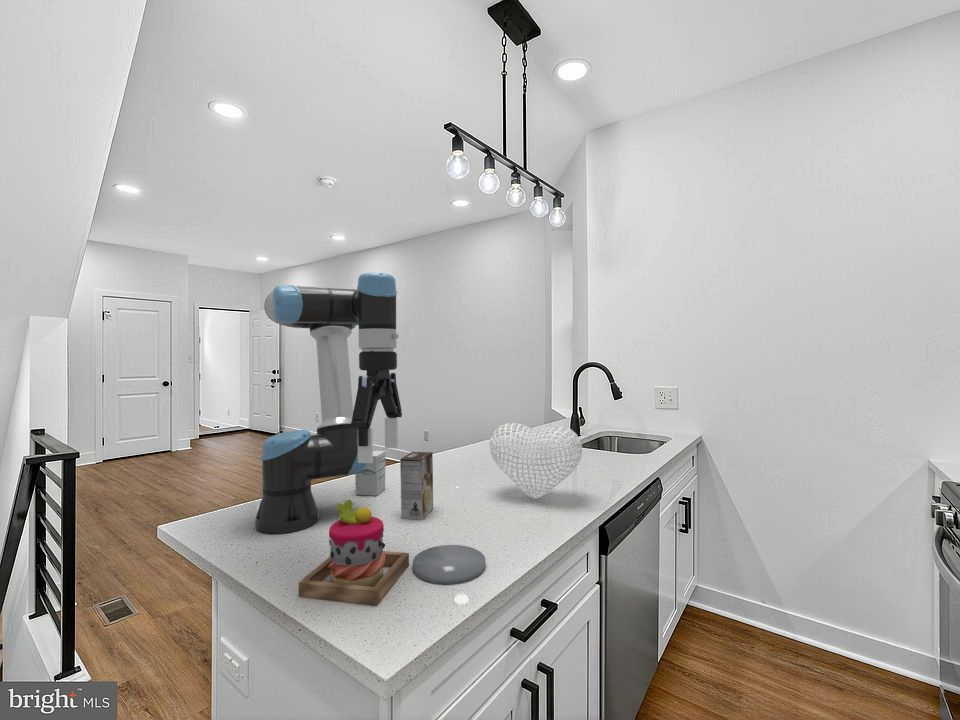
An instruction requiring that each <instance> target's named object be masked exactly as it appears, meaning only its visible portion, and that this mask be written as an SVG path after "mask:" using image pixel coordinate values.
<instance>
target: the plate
mask: <svg viewBox="0 0 960 720" xmlns="http://www.w3.org/2000/svg"><path fill="white" fill-rule="evenodd" d="M485 569H486V557H485V555H484V554H483V552H481V550H478V549H477V548H474V547H471V546H468V545H467V546H466V545H462V544H461V545H460V544H445V545H443V544H441V545H436V546H432V547H429V548H426V549H423V550H422V551H420V552H418V553H417V554H415V556H414V557H413V559H412V572H413V574H414V575H415V577H417V578H418V579H420V580H422V581H424V582H427V583H431V584H435V585H436V584H437V585H456V584H462V583H465V582H469V581H472V580H474V579H476V578H478V577H480V574H481V573H482V572H483V573H484V571H485ZM483 573H482V574H483ZM482 574H481V575H482ZM477 576H478V577H477ZM471 579H472V580H471Z"/></svg>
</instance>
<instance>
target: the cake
mask: <svg viewBox="0 0 960 720" xmlns="http://www.w3.org/2000/svg"><path fill="white" fill-rule="evenodd" d="M353 505H354V504H353V502H352V500H351V499H350V498H348V499H346V500H345V501H344V504H343V503H341V502H338V503H336V504H335V509H336V511H337V513H338V514H339V516H338V518H339V520H336V521H335V522H333V523H332V524H331V525H330V527H329V530H328V537H329V538H328V539H329V542H328V543H329V546H330V554H329V557H331V560H332V562H331V563H330V564H329V566H328V567H329V568H330V569H331V574H330V583H340V584H349V585H358V586H367V587H374V586H375V585H376V584H377V583H378V582H379V581H380V579H381V578H382V577H383V576H384V563H385V554H384V552H383V551H384V548H385V547H386V544H385V543H384V541H383V540H384V539H383V538H384V532H385V530H384V526H385V525H384V522H383V521H382V519H380V518H379V517H376V516H373V515H372V510H371V509H370V508H369V507H367V506H363V507H360V508H356V509H355V510H354V509H353Z"/></svg>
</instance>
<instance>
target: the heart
mask: <svg viewBox="0 0 960 720" xmlns="http://www.w3.org/2000/svg"><path fill="white" fill-rule="evenodd" d="M546 433H547V434H546ZM512 434H513V435H512ZM564 438H566V439H564ZM531 439H532V440H531ZM560 439H561V441H560ZM580 439H581V438H580V437H579V436H578V434H577V433H576V432H575V431H574V430H572V429H571V428H570V427H567V426H563V425H551V426H547V427H542V428H537V429H536V428H532V427H530V426H527V425H525V424H523V423H517V422H508V423H504V424H502V425H500V426H498V427H497V428H495V430H494V431H493V433H492V435H491V436H490V439H489V440H490V441H489V451H490V452H489V453H490V454H491V457H492V459H493V461H494V462H495V464H496V466H498V468H499V469H500V470H501V471H502V472H503V473H504V474H505V475H506V476H507V477H508V478H509V479H510V480H511V481H512V482H513V483H514V484H515V485H516V486H517V487H518V488H519V489H520V490H521V491H522V492H523V493H524V494H525V495H526V496H527V497H530V498H531V499H540V498H542V497H544V496H545V495H547V494H549V493H550V492H551V491H553V489H554V488H555V487H557V486H558V485H559V484H560V483H562V482H563V481H564V480H566V479H567V478H568V477H569V476H570V475H571V474H572V473H573V472H574V471H575V469H577V468H578V465H579V463H580V461H581V459H582V456H583V445H582V442H581V440H580ZM547 441H548V443H547ZM539 442H540V443H539ZM542 442H544V443H542ZM569 443H570V444H569ZM557 444H558V445H557ZM565 444H566V446H565ZM547 447H548V448H547ZM552 447H553V448H552ZM526 449H527V450H526ZM530 449H531V451H530ZM557 449H558V450H557ZM506 450H507V451H506ZM534 450H535V452H534ZM538 450H539V451H538ZM511 452H512V453H511ZM558 452H559V453H558ZM520 453H521V454H520ZM515 454H516V455H515ZM524 454H526V456H525V455H524ZM501 455H502V456H501ZM529 455H530V456H529ZM533 455H535V458H534V457H533ZM557 455H558V456H557ZM538 456H539V458H538ZM543 456H544V457H543ZM543 461H544V462H545V463H543ZM548 461H549V463H548ZM506 462H507V463H506ZM520 465H521V466H520ZM524 466H526V467H524ZM530 466H532V467H530ZM536 466H537V467H536ZM560 467H561V468H560ZM513 469H514V470H513ZM524 470H527V472H524ZM530 471H533V472H530ZM542 472H543V473H542ZM547 472H549V473H547ZM526 475H528V476H526ZM531 475H532V476H533V477H531ZM537 476H538V477H537ZM544 481H546V482H544Z"/></svg>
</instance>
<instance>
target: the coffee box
mask: <svg viewBox="0 0 960 720" xmlns="http://www.w3.org/2000/svg"><path fill="white" fill-rule="evenodd" d="M433 458H434V457H433V452H430V451H412V452H411V451H410V452H409V453H407V454H406V455H404V456H403V457H402V458H400V460H399V461H400V465H399V466H400V507H401V508H400V509H401V511H400V514H401V515H400V517H401V519H410V520H422V521H423V520H424V519H425V518H426V517H427V516H428V514H429V513H430V512H431V511H432V510H433V509H434V476H433V475H434V474H433V473H434V472H433V471H434V469H433Z"/></svg>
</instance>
